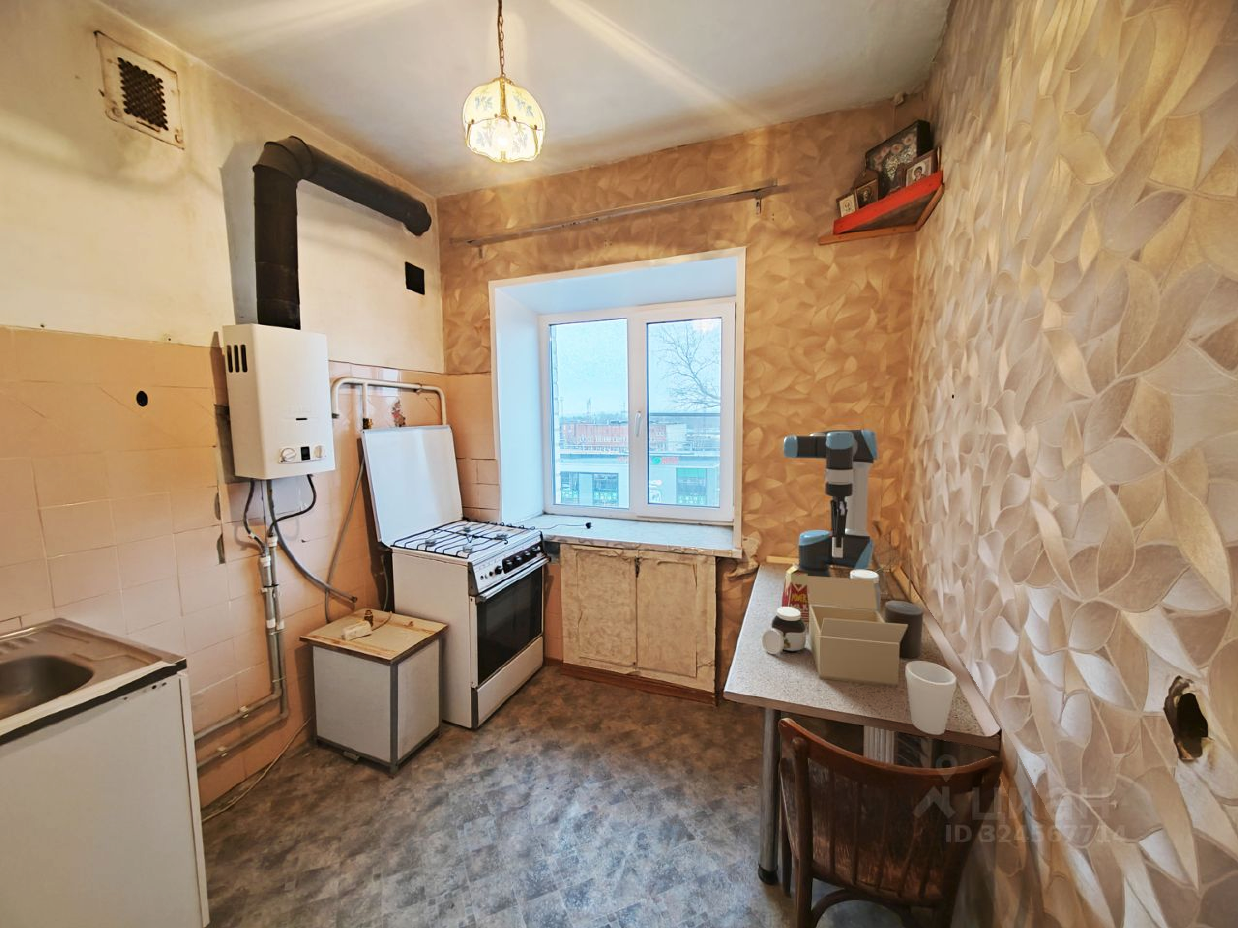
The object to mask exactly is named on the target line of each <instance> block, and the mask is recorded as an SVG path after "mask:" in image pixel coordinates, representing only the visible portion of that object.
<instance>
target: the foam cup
mask: <svg viewBox="0 0 1238 928" xmlns="http://www.w3.org/2000/svg"><path fill="white" fill-rule="evenodd" d="M904 675H905V678H906V684H907V685H906V686H907V692H908V693H907V694H908V695H907V696H908V702H909V710H910V718H911V723H912V725H913V726H914V727H915V728H916V729H918V730H920V731H921V732H924V733H926V734H930V735H941V734H944V733H945V730H946V727H947V722H948V719H949V718H948V717H949V714H950V710H951V706H952V703H953V702H952V701H953V698H954V693H955V691H956V689H957V676H955V673H953V672H952V671H951V670H950V669H948V668H946V667H944V666H943V665H940V664H936V663H935V662H934V663H933V662H929V661H926V660H923V661H922V660H913V661H910V662H907V664H906V665H905V674H904Z"/></svg>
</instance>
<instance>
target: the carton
mask: <svg viewBox="0 0 1238 928" xmlns="http://www.w3.org/2000/svg"><path fill="white" fill-rule="evenodd" d="M824 618H835V619H847V620H859V621H871V622H884V618H883V617H882V615H881V613H880V614H879V613H878V611H877V610H865V609H851V608H847V607H836V606H823V605H809V625H808V644H809V647H810V650H811V654H812V657H813V661H814V664H815V667H816V671H817V675H818V678H819V679H822V680H831V681H840V682H848V683H857V684H866V685H876V686H883V687H884V686H885V687H893V688H899V671H900V669H899V667H900V657H899V647H900V644H899V643H892V642H881V641H870V640H859V639H848V638H837V637H826V636H820V633H821V629H822V624H823V620H824ZM884 623H885V622H884Z"/></svg>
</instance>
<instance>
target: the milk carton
mask: <svg viewBox="0 0 1238 928" xmlns="http://www.w3.org/2000/svg"><path fill="white" fill-rule="evenodd" d="M798 568H799V565H796V564H794V562H793V563H792V566H791V567H790V568H789V569H788V570H786V572H785V578H784V582H783V588H782V596H781V605H780V607H792V608H795V609H797V610H799V611H800V613H801V619H802V620H803V621H804V623H805V625H806V626H809V593H808V578H807V573H805V572H803V571H801V570H799V569H798Z"/></svg>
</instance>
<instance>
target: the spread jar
mask: <svg viewBox="0 0 1238 928" xmlns="http://www.w3.org/2000/svg"><path fill="white" fill-rule="evenodd" d="M761 642H762V643H761V644H762V647H763V648H764V650H765V651H766V652H767V653H769V654H771V655H778V654H780V653H781V652H784V653H787V654H796V653H798V652H801V651H803V649H804V648H805V647H806V643H807V625H805V623H804V621H803V620H802V619H801V613H800V611H799V610H797V609H795V608H792V607H781V606H780V607H778V608H777V609H776V615H775V616H774V617H773V618H772V621H771V628H770V629H768V630H766V631H765V632H764V633H763V634H762V638H761Z"/></svg>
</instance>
